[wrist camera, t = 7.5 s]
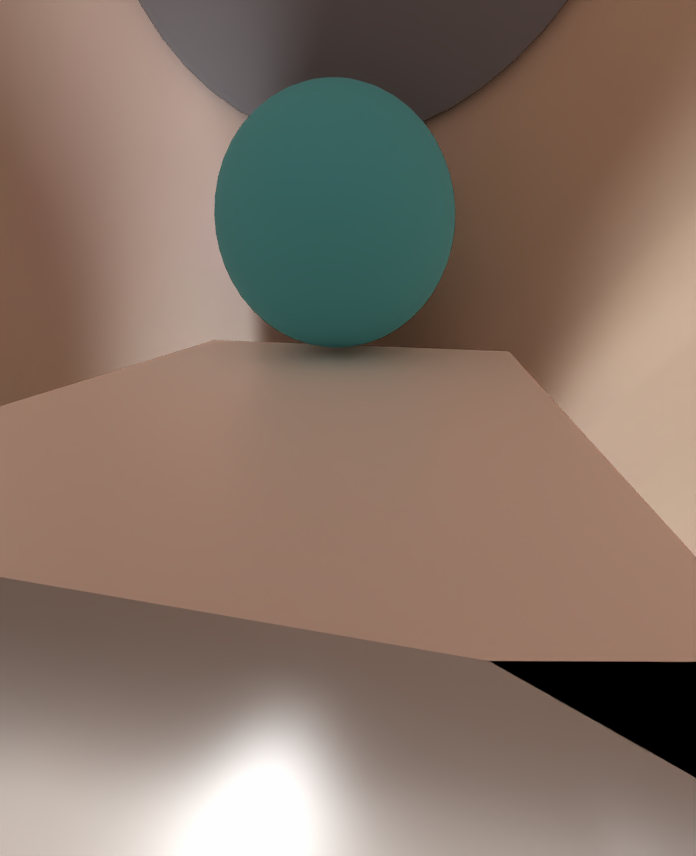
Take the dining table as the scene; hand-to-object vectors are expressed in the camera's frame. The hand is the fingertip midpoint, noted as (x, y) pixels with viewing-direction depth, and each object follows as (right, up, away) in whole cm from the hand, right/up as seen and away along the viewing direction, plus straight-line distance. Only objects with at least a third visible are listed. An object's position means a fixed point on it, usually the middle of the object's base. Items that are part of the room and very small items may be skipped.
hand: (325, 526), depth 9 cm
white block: (+1, +1, +3) cm, 3 cm away
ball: (0, +6, 0) cm, 6 cm away
